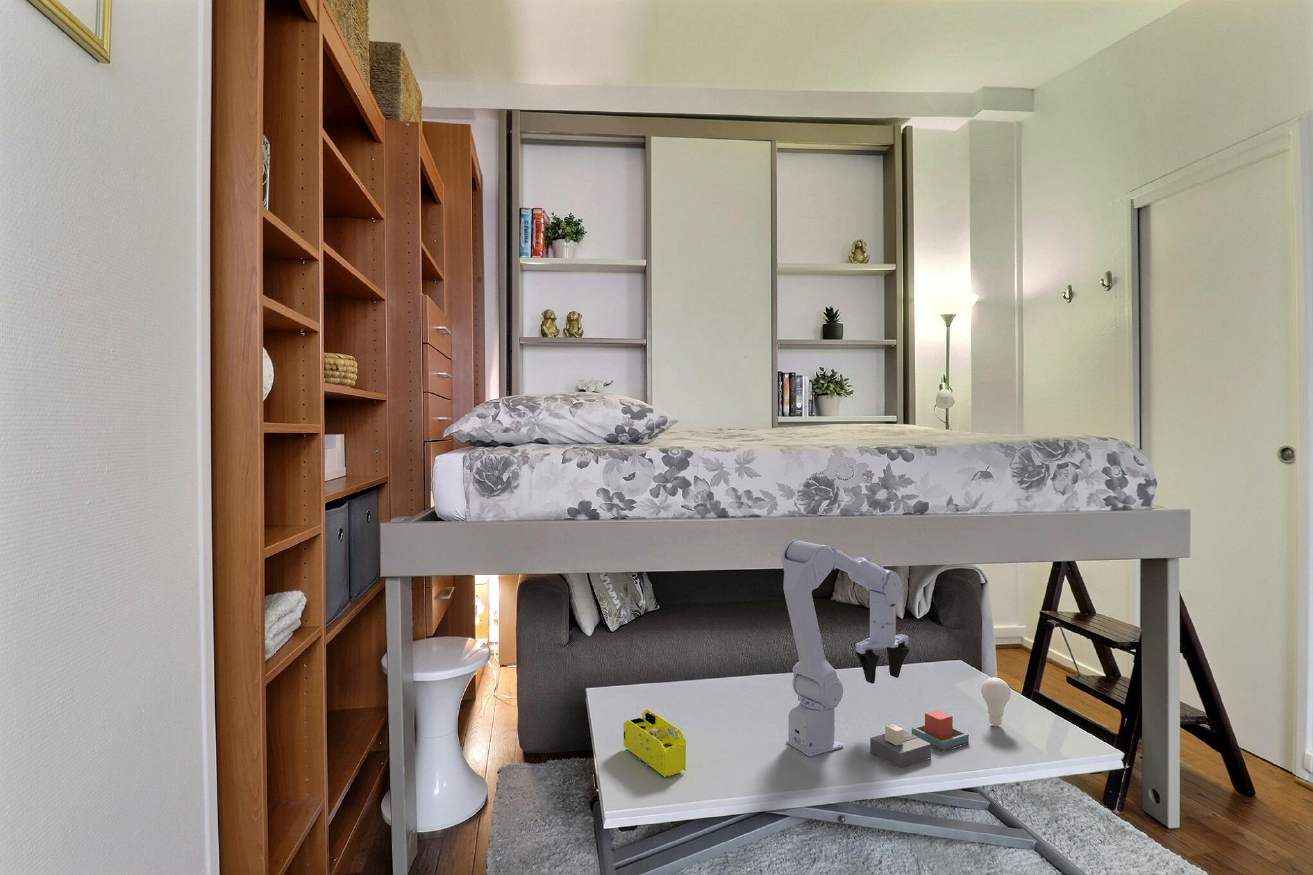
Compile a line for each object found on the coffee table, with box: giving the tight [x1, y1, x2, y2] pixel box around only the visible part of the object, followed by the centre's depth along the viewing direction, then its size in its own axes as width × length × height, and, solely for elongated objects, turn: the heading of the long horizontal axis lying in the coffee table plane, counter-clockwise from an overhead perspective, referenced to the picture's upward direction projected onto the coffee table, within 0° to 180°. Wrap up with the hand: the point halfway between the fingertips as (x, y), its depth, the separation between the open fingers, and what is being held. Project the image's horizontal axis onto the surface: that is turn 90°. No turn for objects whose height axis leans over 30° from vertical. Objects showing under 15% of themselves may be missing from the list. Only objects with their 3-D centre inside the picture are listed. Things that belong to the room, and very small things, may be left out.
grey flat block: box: [869, 729, 932, 769], centre depth 151 cm, size 9×8×3 cm
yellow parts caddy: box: [623, 708, 687, 778], centre depth 148 cm, size 16×6×8 cm, turn 33°
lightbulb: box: [980, 676, 1012, 727], centre depth 165 cm, size 6×6×11 cm
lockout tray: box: [911, 723, 970, 752], centre depth 158 cm, size 8×8×2 cm
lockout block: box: [924, 709, 954, 740], centre depth 158 cm, size 4×4×5 cm
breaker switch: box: [884, 723, 904, 746], centre depth 150 cm, size 2×3×3 cm, turn 28°
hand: (882, 679), depth 167 cm, fingers open, 7 cm apart
